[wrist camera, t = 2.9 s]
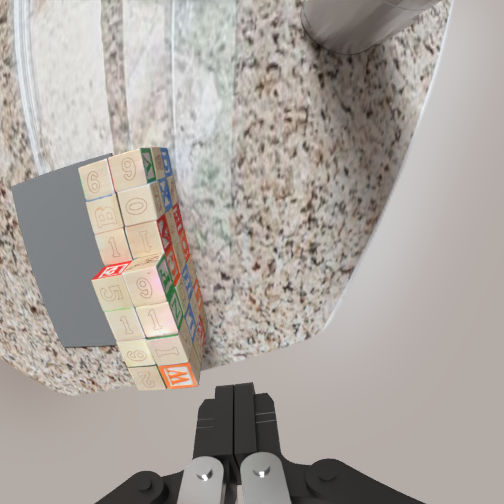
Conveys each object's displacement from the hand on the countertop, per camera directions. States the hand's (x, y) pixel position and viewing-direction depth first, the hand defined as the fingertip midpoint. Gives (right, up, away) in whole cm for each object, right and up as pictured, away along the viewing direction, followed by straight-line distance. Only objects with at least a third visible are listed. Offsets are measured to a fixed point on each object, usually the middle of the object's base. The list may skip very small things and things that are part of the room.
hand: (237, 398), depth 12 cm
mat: (-21, +5, +23) cm, 32 cm away
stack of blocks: (-10, +7, +23) cm, 26 cm away
